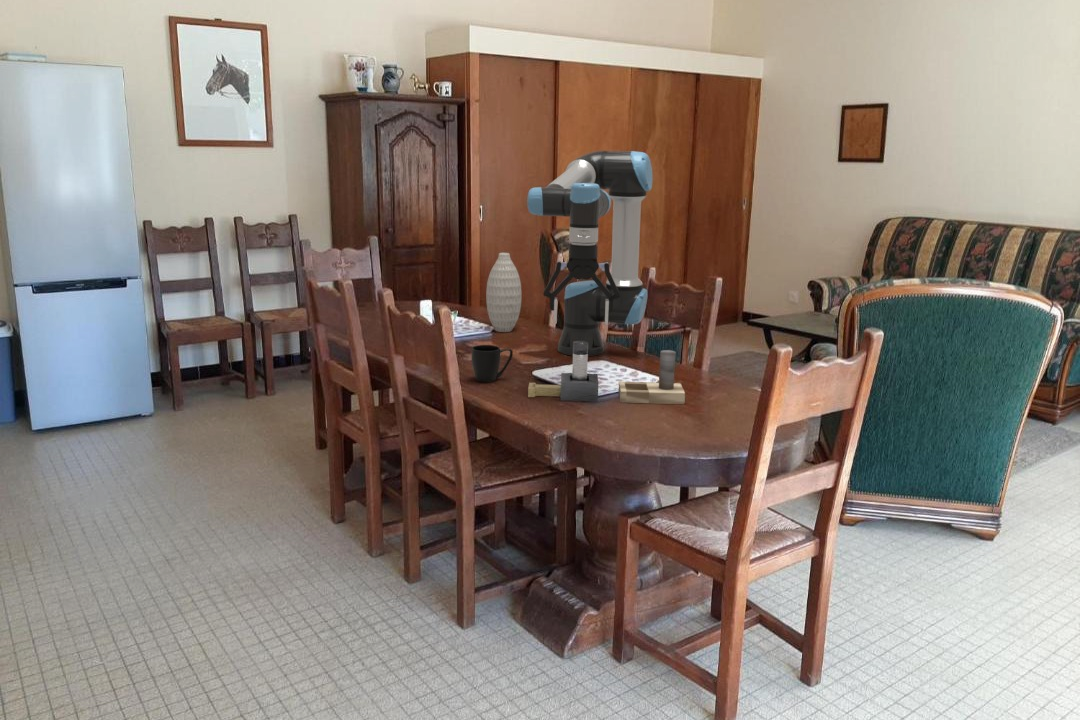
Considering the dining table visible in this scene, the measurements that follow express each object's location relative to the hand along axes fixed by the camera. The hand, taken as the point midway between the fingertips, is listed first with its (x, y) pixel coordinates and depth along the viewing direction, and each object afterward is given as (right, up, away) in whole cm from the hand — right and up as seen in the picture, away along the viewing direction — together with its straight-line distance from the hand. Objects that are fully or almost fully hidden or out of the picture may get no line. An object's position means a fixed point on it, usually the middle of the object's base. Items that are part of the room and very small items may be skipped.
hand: (580, 323), depth 229 cm
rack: (+19, -20, +5) cm, 28 cm away
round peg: (0, -20, +5) cm, 20 cm away
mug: (-25, -16, +19) cm, 35 cm away
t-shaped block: (-9, -19, +5) cm, 22 cm away
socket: (0, -19, +5) cm, 20 cm away
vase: (-24, +1, +85) cm, 88 cm away
